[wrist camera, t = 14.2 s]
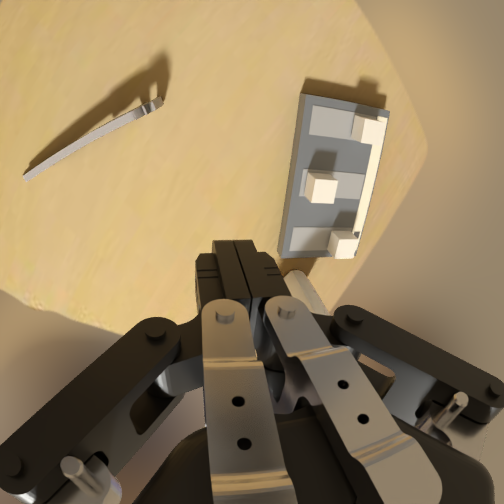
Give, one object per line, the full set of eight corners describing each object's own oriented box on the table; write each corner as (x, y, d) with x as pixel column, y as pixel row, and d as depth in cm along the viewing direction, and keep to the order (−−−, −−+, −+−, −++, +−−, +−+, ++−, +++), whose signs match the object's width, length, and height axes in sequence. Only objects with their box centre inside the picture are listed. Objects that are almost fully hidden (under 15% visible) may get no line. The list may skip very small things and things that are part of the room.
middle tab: (307, 172, 38) (315, 179, 36) (329, 174, 39) (338, 180, 36) (303, 195, 39) (311, 202, 37) (325, 196, 40) (333, 203, 38)
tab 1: (331, 230, 43) (339, 239, 41) (350, 230, 44) (358, 239, 42) (327, 249, 45) (334, 258, 43) (345, 249, 45) (352, 258, 43)
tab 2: (354, 115, 35) (365, 118, 33) (374, 119, 36) (385, 122, 34) (350, 137, 36) (360, 142, 34) (370, 141, 37) (380, 146, 35)
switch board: (300, 93, 35) (306, 94, 33) (381, 108, 37) (390, 111, 36) (277, 250, 46) (281, 258, 44) (349, 249, 49) (355, 256, 47)
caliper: (160, 95, 32) (156, 98, 27) (164, 103, 33) (160, 108, 27) (23, 174, 32) (2, 192, 27) (27, 181, 33) (6, 200, 27)
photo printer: (291, 264, 48) (321, 320, 37) (311, 274, 50) (344, 329, 39) (252, 312, 51) (271, 372, 41) (273, 319, 53) (295, 377, 43)
